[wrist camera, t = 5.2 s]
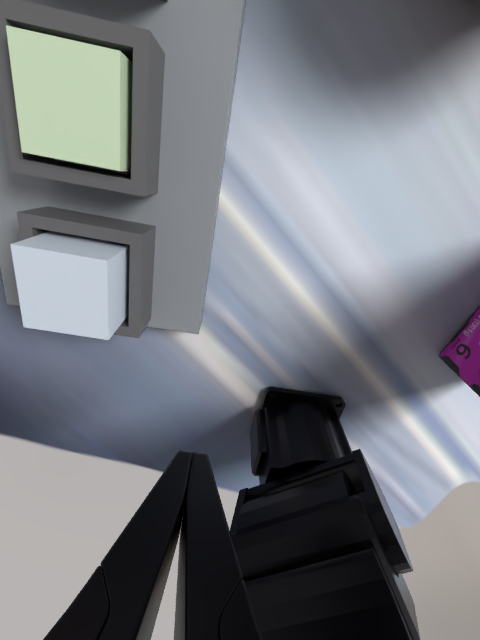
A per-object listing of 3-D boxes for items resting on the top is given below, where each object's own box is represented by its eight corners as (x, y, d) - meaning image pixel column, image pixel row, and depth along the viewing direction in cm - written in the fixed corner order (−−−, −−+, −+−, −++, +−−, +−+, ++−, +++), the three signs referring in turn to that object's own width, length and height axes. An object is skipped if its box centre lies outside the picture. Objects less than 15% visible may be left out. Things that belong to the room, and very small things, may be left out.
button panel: (270, -173, 12) (284, -351, 8) (202, 320, 21) (192, 355, 17) (-54, -267, 11) (-227, -522, 7) (27, 292, 21) (-25, 322, 17)
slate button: (130, 245, 16) (107, 260, 13) (129, 313, 17) (108, 340, 15) (50, 231, 15) (10, 244, 13) (57, 302, 17) (23, 327, 14)
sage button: (143, 74, 14) (120, 50, 11) (141, 171, 15) (119, 171, 13) (53, 54, 13) (5, 25, 11) (60, 155, 15) (21, 152, 12)
